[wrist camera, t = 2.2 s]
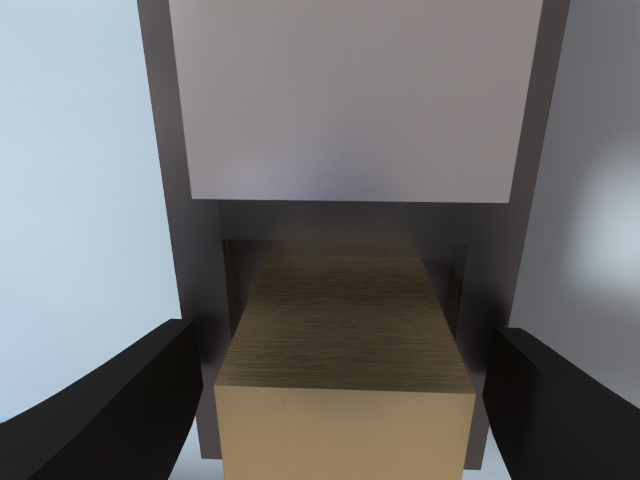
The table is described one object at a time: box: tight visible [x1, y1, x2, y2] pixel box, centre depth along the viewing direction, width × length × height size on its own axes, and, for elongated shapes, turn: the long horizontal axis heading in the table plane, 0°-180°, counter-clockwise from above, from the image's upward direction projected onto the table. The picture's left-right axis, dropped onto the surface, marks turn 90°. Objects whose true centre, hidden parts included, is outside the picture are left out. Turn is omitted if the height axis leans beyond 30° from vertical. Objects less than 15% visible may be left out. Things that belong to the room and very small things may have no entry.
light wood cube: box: [214, 255, 476, 480], centre depth 10 cm, size 4×4×5 cm
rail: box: [137, 0, 570, 470], centre depth 9 cm, size 22×8×2 cm, turn 0°
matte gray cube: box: [169, 0, 543, 203], centre depth 7 cm, size 4×4×5 cm
